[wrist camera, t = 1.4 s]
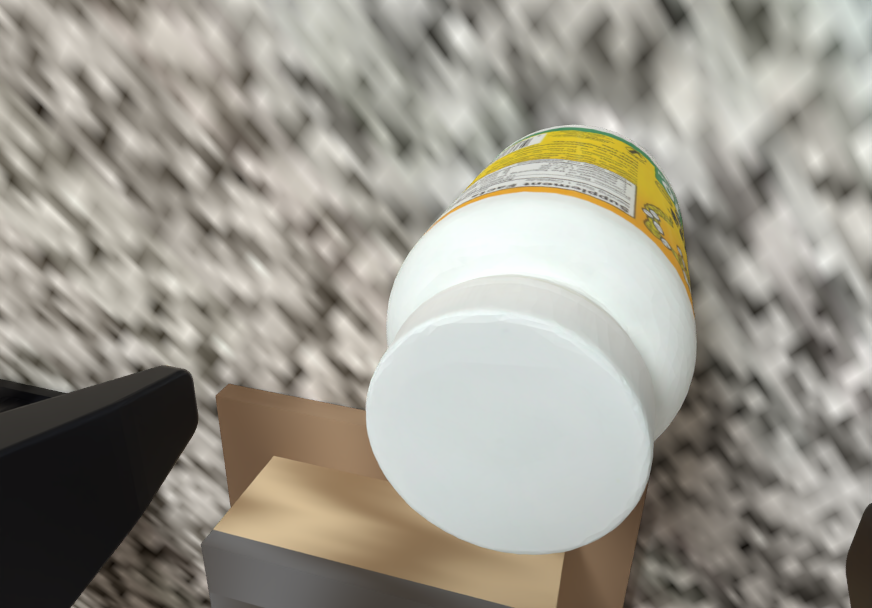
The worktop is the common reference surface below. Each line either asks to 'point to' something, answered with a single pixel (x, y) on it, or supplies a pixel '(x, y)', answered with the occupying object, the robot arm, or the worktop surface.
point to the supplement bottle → (538, 346)
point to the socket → (366, 527)
